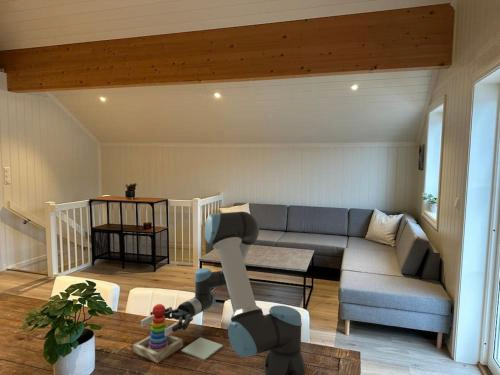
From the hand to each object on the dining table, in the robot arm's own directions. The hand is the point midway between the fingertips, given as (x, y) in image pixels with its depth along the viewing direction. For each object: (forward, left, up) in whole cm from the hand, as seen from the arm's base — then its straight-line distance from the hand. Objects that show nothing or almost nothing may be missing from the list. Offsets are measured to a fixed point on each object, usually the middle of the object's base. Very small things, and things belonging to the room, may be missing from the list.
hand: (153, 328), depth 138 cm
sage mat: (-15, -12, -10) cm, 22 cm away
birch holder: (0, -2, -10) cm, 10 cm away
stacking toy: (0, -2, -10) cm, 11 cm away
